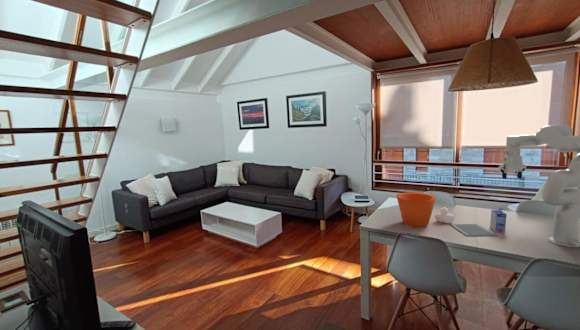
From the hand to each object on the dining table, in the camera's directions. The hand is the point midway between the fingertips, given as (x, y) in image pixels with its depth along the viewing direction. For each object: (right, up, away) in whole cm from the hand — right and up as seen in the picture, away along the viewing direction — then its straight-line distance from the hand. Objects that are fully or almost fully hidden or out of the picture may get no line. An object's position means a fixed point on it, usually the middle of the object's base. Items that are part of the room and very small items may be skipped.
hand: (511, 178), depth 188 cm
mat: (-35, -33, -11) cm, 49 cm away
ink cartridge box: (-19, -33, -13) cm, 40 cm away
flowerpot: (-64, -33, +5) cm, 72 cm away
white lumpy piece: (-43, -31, +6) cm, 54 cm away
